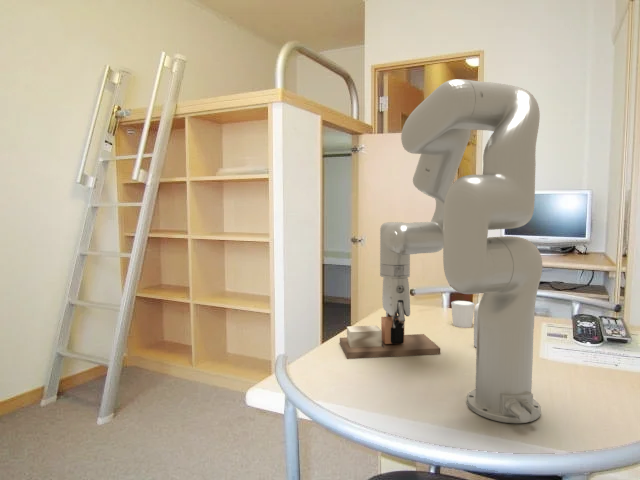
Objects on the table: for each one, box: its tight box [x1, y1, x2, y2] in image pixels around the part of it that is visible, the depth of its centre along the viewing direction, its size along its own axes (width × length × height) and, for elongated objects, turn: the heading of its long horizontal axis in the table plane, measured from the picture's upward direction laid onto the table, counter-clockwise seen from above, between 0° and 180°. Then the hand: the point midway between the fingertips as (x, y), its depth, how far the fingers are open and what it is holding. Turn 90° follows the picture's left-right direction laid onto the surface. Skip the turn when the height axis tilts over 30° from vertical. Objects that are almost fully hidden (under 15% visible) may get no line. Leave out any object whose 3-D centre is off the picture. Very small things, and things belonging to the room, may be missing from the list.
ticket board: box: [339, 324, 441, 360], centre depth 115 cm, size 24×12×6 cm, turn 96°
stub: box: [380, 316, 404, 344], centre depth 115 cm, size 5×4×6 cm
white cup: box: [450, 300, 476, 329], centre depth 136 cm, size 7×7×7 cm
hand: (394, 339), depth 115 cm, fingers closed on stub, 4 cm apart
